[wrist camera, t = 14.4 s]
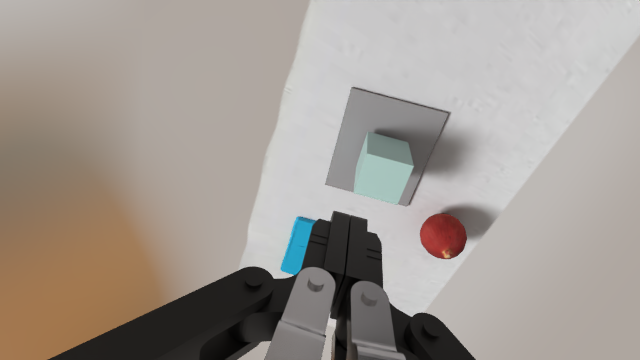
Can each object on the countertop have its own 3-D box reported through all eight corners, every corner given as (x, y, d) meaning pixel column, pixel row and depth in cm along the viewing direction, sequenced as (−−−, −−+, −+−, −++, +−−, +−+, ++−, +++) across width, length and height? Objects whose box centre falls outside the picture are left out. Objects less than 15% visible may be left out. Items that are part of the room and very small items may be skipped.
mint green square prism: (367, 131, 41) (366, 153, 35) (408, 142, 41) (413, 166, 35) (356, 167, 44) (353, 193, 38) (394, 177, 43) (397, 204, 38)
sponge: (333, 228, 50) (296, 219, 49) (312, 280, 56) (278, 273, 55) (333, 222, 51) (297, 213, 51) (312, 274, 57) (280, 266, 57)
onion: (468, 215, 46) (485, 253, 39) (441, 241, 49) (452, 281, 42) (434, 195, 46) (445, 231, 39) (409, 223, 48) (415, 261, 41)
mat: (351, 87, 40) (351, 88, 40) (447, 112, 40) (448, 113, 39) (325, 183, 47) (325, 184, 47) (406, 205, 47) (407, 206, 47)
